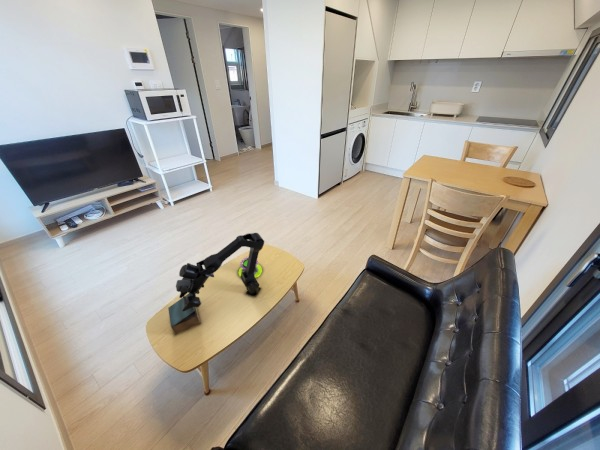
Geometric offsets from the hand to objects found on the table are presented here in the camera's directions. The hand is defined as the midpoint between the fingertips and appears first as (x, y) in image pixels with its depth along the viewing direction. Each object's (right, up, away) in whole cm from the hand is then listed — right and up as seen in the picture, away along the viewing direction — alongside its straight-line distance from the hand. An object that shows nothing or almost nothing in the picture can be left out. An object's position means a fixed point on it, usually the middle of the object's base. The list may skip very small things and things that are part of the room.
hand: (181, 304), depth 118 cm
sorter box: (-1, -10, +6) cm, 12 cm away
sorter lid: (-1, -3, +2) cm, 4 cm away
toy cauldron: (+27, +9, +36) cm, 46 cm away
